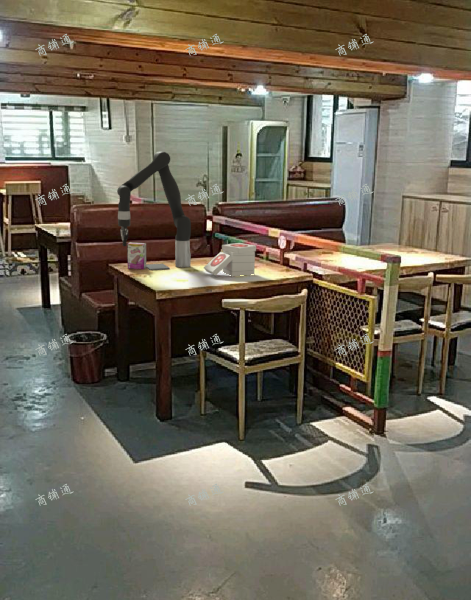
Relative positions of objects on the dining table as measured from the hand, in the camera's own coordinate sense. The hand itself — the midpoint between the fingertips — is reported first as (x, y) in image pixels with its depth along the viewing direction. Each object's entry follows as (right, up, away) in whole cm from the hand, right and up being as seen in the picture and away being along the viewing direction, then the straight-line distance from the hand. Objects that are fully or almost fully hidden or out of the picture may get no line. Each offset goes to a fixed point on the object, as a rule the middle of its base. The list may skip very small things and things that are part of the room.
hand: (124, 246), depth 393 cm
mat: (+19, -13, +11) cm, 25 cm away
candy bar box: (+7, -14, +7) cm, 17 cm away
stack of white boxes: (+67, -18, -6) cm, 69 cm away
